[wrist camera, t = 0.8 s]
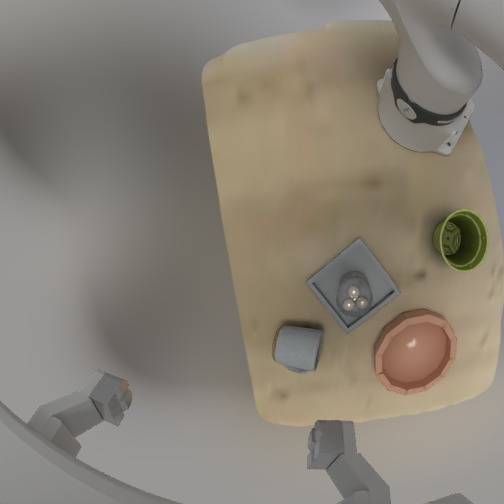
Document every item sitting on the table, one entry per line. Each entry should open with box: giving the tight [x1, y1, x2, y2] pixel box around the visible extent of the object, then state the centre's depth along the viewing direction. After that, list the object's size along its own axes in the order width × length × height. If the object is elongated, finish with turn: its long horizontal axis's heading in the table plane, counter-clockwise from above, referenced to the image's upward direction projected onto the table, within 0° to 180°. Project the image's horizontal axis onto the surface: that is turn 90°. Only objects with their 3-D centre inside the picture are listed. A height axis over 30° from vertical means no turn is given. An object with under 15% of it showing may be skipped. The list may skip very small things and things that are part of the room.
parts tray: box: [306, 237, 401, 334], centre depth 44 cm, size 12×12×2 cm
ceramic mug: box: [272, 326, 324, 373], centre depth 46 cm, size 11×8×8 cm
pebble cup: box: [336, 271, 373, 317], centre depth 40 cm, size 5×5×10 cm
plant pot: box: [433, 209, 489, 273], centre depth 34 cm, size 9×9×9 cm
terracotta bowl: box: [374, 309, 457, 395], centre depth 40 cm, size 16×16×4 cm
